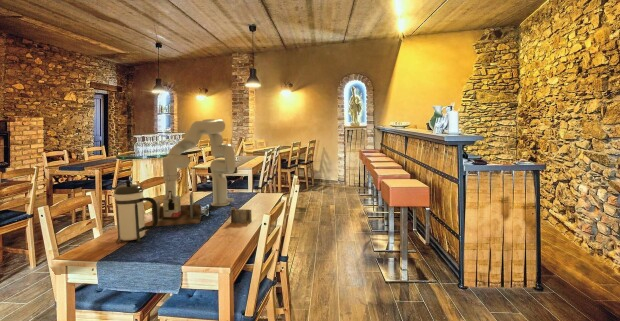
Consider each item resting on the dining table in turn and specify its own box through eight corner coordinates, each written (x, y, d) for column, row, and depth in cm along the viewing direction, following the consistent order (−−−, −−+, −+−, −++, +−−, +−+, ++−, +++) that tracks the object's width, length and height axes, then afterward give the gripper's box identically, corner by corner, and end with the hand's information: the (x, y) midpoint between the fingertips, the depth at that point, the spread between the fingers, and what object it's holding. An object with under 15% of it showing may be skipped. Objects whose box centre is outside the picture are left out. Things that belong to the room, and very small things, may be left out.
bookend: (200, 214, 216) (199, 191, 214) (200, 218, 207) (199, 194, 205) (191, 214, 214) (190, 192, 213) (190, 218, 206) (189, 195, 204)
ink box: (181, 214, 210) (180, 195, 208) (177, 217, 205) (176, 197, 203) (167, 214, 210) (166, 195, 209) (163, 217, 205) (162, 196, 204)
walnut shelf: (201, 215, 219) (200, 196, 218) (199, 222, 204) (198, 202, 202) (157, 218, 213) (156, 199, 212) (152, 226, 198) (151, 205, 196)
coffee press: (123, 247, 165) (118, 184, 161) (110, 240, 175) (105, 180, 172) (159, 238, 178) (156, 179, 174) (145, 231, 188) (142, 175, 185)
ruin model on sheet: (230, 223, 204) (230, 207, 203) (232, 222, 207) (232, 205, 206) (250, 224, 202) (249, 207, 201) (251, 222, 205) (251, 206, 204)
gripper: (165, 175, 212) (167, 205, 215) (161, 180, 196) (163, 212, 198) (179, 175, 214) (180, 204, 216) (175, 180, 198) (177, 211, 200)
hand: (172, 208), depth 207 cm, fingers closed on ink box, 6 cm apart
